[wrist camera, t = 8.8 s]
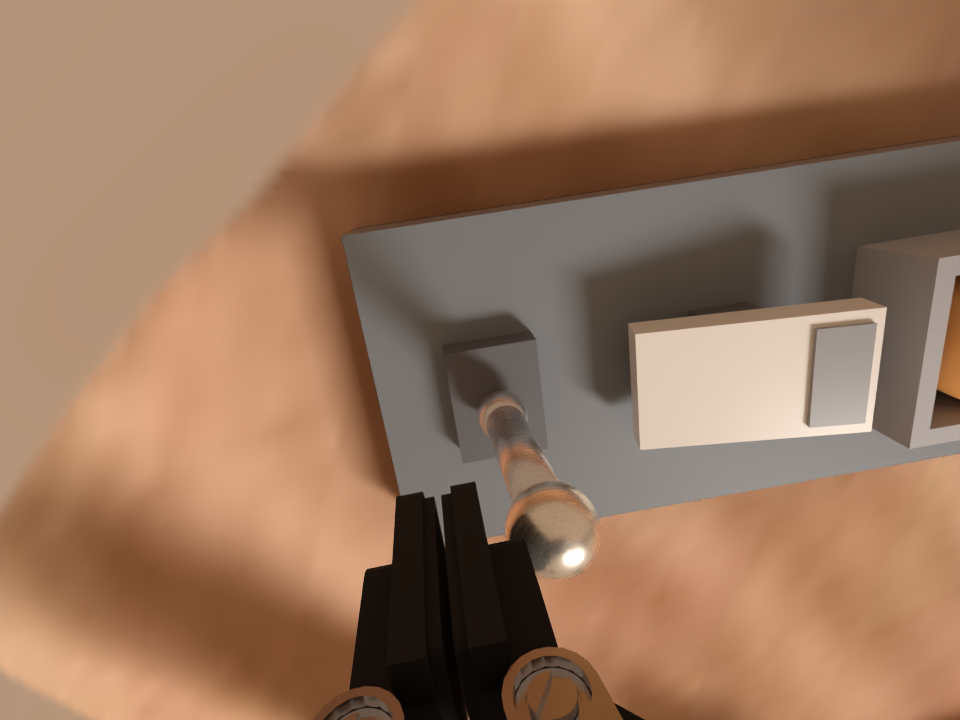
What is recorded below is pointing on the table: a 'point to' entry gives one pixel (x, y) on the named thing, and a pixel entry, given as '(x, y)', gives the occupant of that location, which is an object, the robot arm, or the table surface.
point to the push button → (951, 349)
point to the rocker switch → (756, 374)
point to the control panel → (655, 296)
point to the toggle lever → (539, 494)
